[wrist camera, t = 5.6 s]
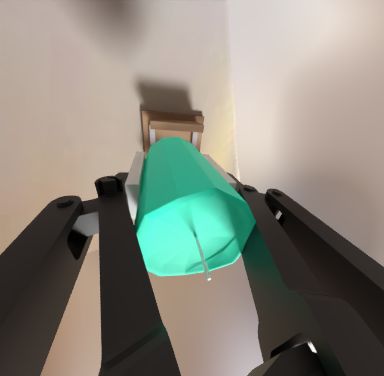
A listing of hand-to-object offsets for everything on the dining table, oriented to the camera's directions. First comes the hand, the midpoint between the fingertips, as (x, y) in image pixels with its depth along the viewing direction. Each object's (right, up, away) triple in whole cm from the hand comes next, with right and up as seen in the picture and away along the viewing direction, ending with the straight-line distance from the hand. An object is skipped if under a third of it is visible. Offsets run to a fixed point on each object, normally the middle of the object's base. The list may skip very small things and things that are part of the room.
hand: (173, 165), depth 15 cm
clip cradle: (-2, +7, +15) cm, 17 cm away
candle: (0, 0, 0) cm, 1 cm away
